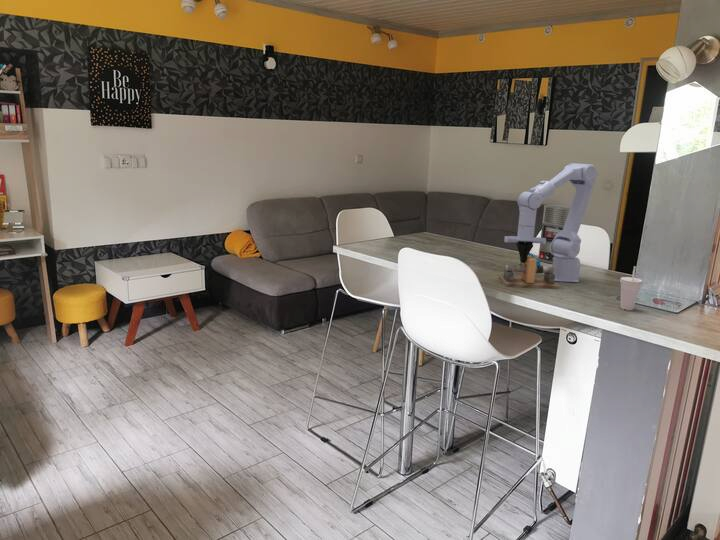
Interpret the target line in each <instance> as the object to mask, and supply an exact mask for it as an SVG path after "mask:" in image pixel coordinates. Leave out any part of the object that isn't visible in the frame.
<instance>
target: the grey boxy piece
mask: <svg viewBox="0 0 720 540" xmlns="http://www.w3.org/2000/svg"><path fill="white" fill-rule="evenodd" d="M570 208H571V206H566V205H559V204H544V207H543V214H542V215H543V216H542V223H541V232H540V238H545V239H546V244H541V243H539V250H538V257H536V258H537V261H539V262H542V263H548V264H551V265H553V259H554V255H553V252H552V251H551V249H550V245H551V242H552V241H553V239H554V238H555V236H556V234H557V233H558V232H560V231H562V230H563V228H564V225H565V222H566V219H567V216H568V213H569V210H570ZM566 240H569V239H566ZM570 241H571V240H570Z"/></svg>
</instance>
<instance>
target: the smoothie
mask: <svg viewBox="0 0 720 540" xmlns="http://www.w3.org/2000/svg"><path fill="white" fill-rule="evenodd" d="M636 267H637V266H635V265H634V266H633V270H632V277H631V276H630V277H629V276H628V277H627V276H622V277H620V280H619V281H620V307H621V308H622V309H621V308H620V309H621V310H624V309H626V310H625V311H634V308H635V305H636V301H637V299H638V295H639V292H640V289H641V285H642V284H643V280H642V279H640V278H636V277H635V275H636V269H637V268H636Z"/></svg>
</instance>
